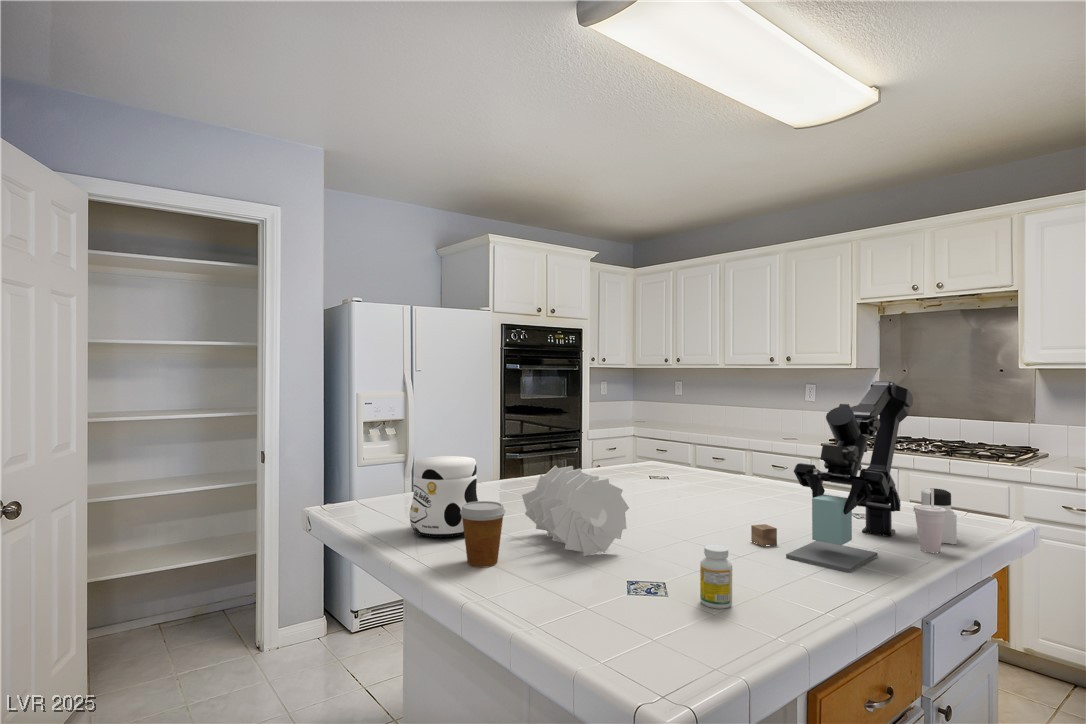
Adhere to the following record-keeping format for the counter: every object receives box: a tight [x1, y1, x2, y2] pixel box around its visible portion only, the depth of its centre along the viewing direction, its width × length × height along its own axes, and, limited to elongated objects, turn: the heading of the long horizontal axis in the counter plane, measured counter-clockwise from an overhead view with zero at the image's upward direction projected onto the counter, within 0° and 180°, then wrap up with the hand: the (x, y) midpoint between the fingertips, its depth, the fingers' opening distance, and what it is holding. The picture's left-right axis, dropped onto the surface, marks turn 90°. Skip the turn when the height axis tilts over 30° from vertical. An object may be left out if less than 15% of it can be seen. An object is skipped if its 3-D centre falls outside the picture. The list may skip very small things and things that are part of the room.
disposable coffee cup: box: [460, 500, 506, 568], centre depth 126 cm, size 10×10×12 cm
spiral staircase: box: [521, 465, 630, 557], centre depth 140 cm, size 18×18×25 cm
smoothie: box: [912, 489, 947, 554], centre depth 135 cm, size 6×6×14 cm
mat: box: [785, 540, 878, 573], centre depth 131 cm, size 16×13×1 cm
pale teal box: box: [811, 493, 853, 546], centre depth 131 cm, size 6×6×9 cm
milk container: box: [409, 455, 479, 538], centre depth 150 cm, size 17×17×18 cm
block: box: [750, 524, 778, 547], centre depth 141 cm, size 4×4×4 cm
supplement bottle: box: [699, 544, 733, 610], centre depth 104 cm, size 5×5×10 cm
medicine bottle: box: [916, 487, 958, 545], centre depth 145 cm, size 7×7×12 cm
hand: (829, 510), depth 130 cm, fingers closed on pale teal box, 6 cm apart
